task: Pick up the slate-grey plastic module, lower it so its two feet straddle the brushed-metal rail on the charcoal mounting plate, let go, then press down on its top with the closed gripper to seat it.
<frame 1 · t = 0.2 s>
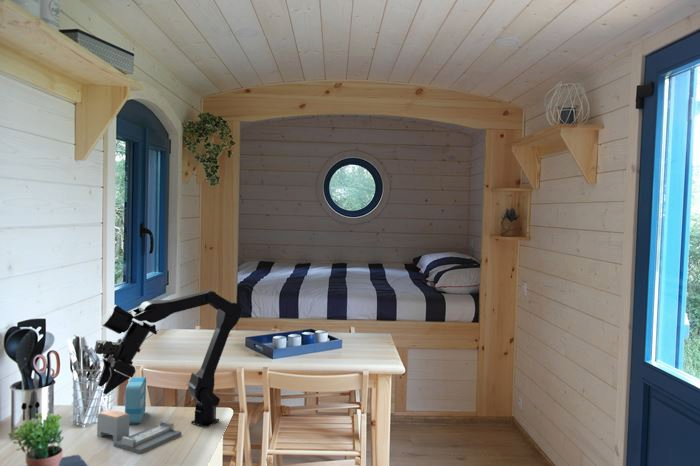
hand: (102, 389, 166), 15 cm above the kitchen counter, tool tilted 30°, fingers open, 9 cm apart
rail module: (113, 436, 170), on the kitchen counter
blue block: (135, 419, 185), on the kitchen counter
rail mount: (148, 440, 168), on the kitchen counter
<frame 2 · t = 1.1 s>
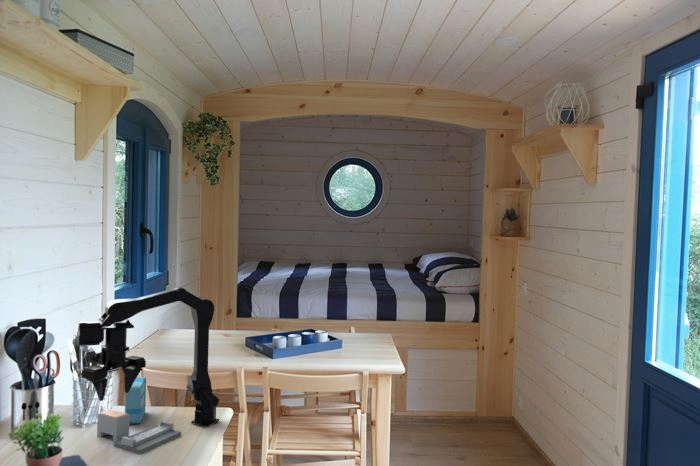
hand: (114, 396, 170), 12 cm above the kitchen counter, tool pointing down, fingers open, 9 cm apart
nothing on the kitchen counter moved.
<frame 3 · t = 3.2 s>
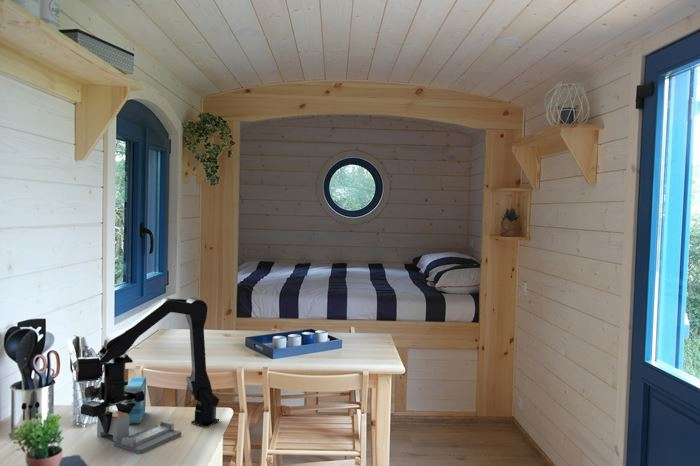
hand: (113, 430, 170), 2 cm above the kitchen counter, tool pointing down, fingers closed on rail module, 4 cm apart
rail module: (112, 436, 170), on the kitchen counter, touching gripper
everything else where it was.
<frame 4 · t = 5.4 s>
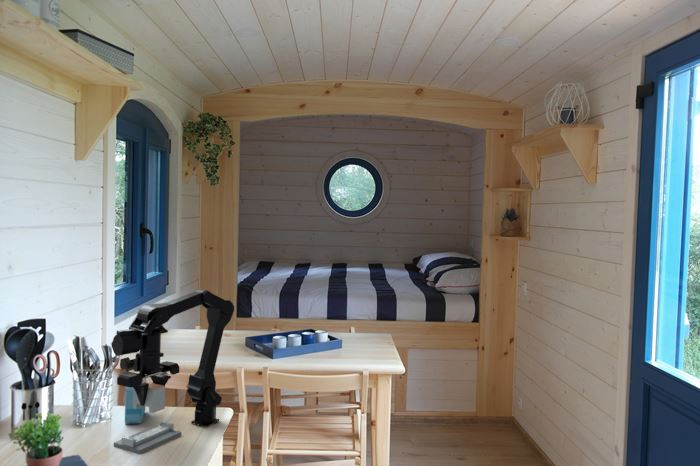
hand: (148, 403, 168), 11 cm above the kitchen counter, tool pointing down, fingers closed on rail module, 4 cm apart
rail module: (148, 408, 168), point 9 cm above the kitchen counter, touching gripper
everything else where it was.
when the fingers open (3 cm above the kitchen counter, at t = 7.6 s): rail module stays where it is, resting on rail mount.
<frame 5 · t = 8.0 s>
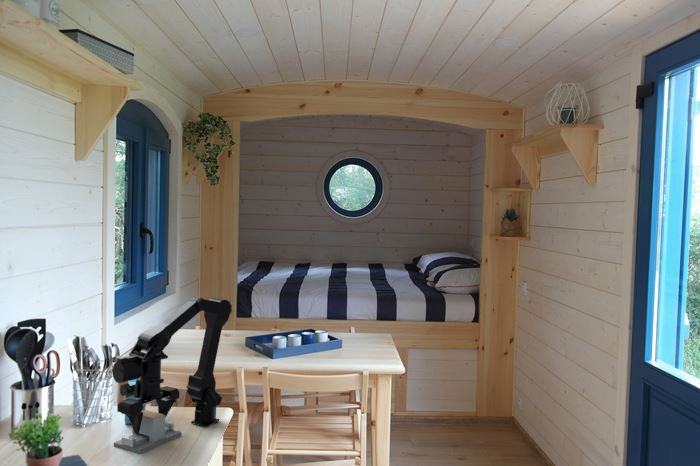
hand: (148, 429, 168), 3 cm above the kitchen counter, tool pointing down, fingers open, 9 cm apart
rail module: (148, 437, 168), point 1 cm above the kitchen counter, touching rail mount
everything else where it was.
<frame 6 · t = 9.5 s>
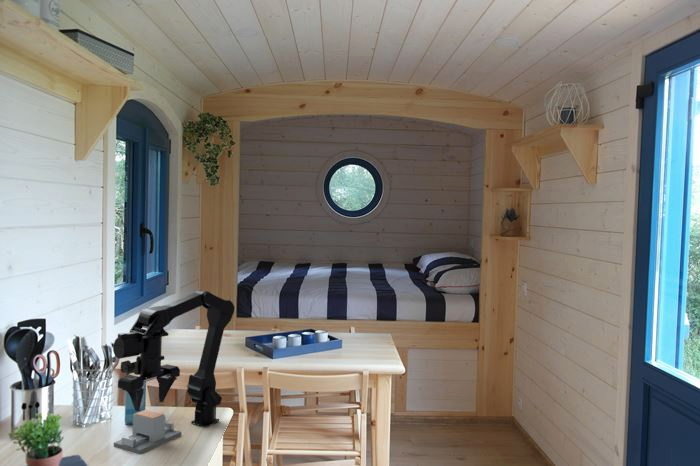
hand: (149, 406, 168), 10 cm above the kitchen counter, tool pointing down, fingers open, 9 cm apart
nothing on the kitchen counter moved.
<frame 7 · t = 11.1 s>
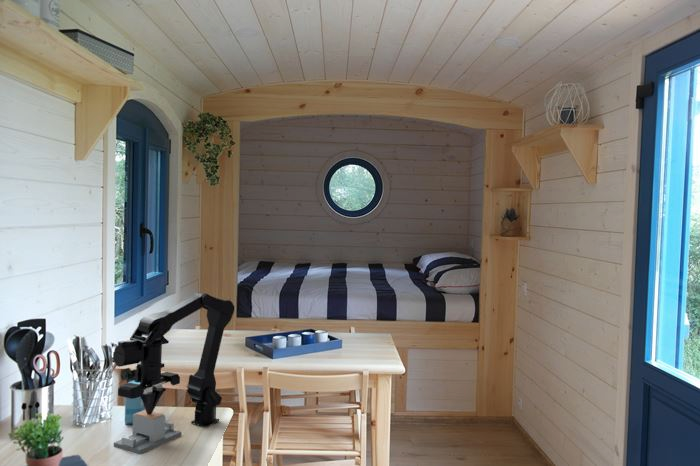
hand: (149, 414, 168), 8 cm above the kitchen counter, tool pointing down, fingers closed, pressing on rail module
rail module: (148, 437, 168), point 1 cm above the kitchen counter, touching gripper, rail mount
everything else where it was.
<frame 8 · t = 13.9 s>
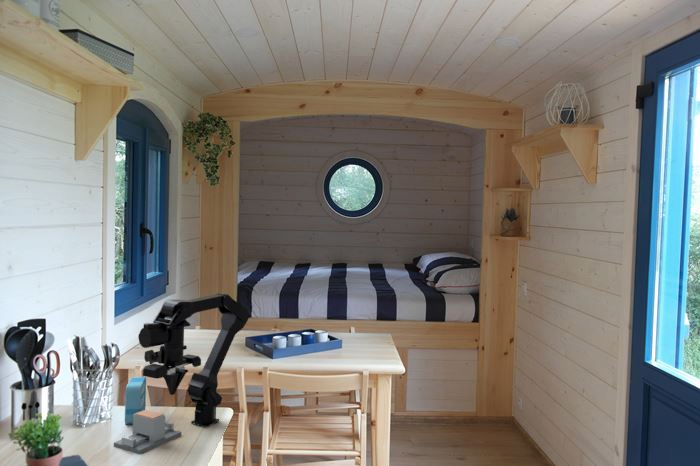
hand: (172, 394, 173), 12 cm above the kitchen counter, tool pointing down, fingers closed
rail module: (148, 437, 168), point 1 cm above the kitchen counter, touching rail mount
everything else where it was.
at the end: rail module 0.0 cm off-centre on the rail mount, point 1.0 cm above the rail mount's base; rail module tilted 0°; the gripper is holding nothing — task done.
